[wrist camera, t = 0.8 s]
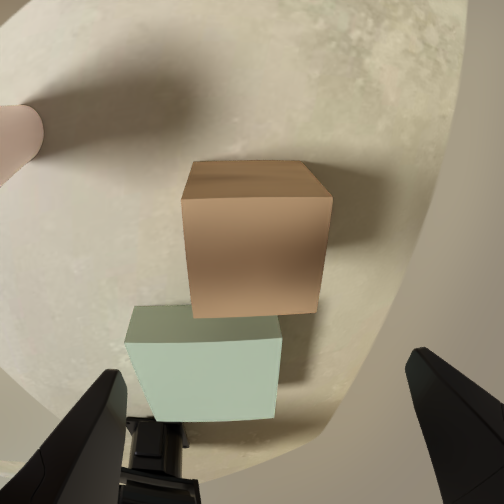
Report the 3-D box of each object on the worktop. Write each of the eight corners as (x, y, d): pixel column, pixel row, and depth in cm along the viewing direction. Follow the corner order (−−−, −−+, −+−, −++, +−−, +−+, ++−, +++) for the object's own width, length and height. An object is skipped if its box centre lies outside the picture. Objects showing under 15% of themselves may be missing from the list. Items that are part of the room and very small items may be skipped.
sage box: (268, 381, 28) (274, 417, 24) (160, 385, 27) (156, 421, 24) (273, 298, 23) (282, 337, 19) (135, 303, 22) (124, 342, 19)
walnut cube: (293, 251, 21) (316, 312, 16) (199, 254, 20) (193, 318, 15) (300, 160, 18) (333, 197, 13) (193, 161, 17) (180, 199, 12)
